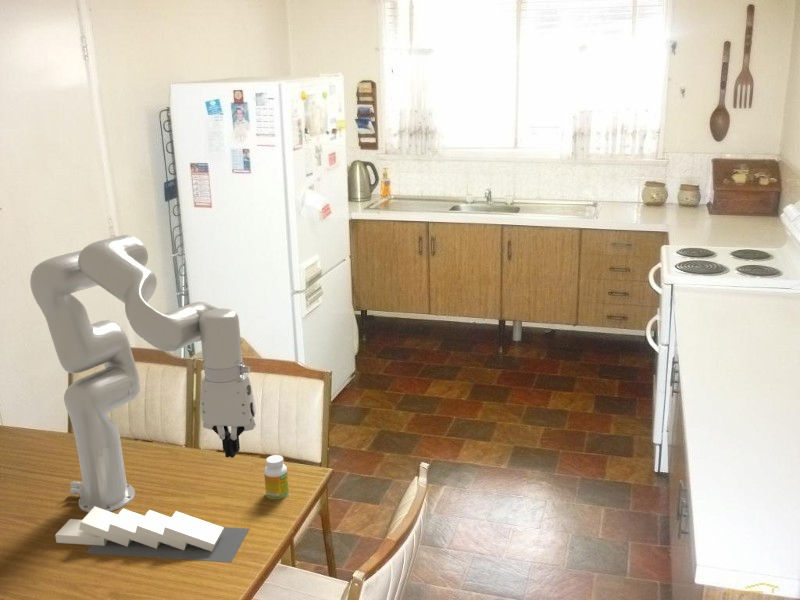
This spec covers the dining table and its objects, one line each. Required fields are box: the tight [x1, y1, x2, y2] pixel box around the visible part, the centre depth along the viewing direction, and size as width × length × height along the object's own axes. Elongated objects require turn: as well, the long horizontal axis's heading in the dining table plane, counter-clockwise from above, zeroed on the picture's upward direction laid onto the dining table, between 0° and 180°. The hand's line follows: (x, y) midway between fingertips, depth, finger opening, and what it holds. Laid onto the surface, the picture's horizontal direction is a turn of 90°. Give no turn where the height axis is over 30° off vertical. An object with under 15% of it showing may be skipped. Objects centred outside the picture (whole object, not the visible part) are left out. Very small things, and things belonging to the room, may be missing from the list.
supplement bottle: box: [263, 454, 290, 500], centre depth 181 cm, size 5×5×10 cm
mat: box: [85, 526, 250, 563], centre depth 164 cm, size 32×12×1 cm, turn 83°
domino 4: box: [135, 509, 188, 550], centre depth 163 cm, size 2×6×11 cm
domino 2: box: [79, 507, 132, 547], centre depth 165 cm, size 2×6×11 cm
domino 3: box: [108, 507, 161, 549], centre depth 164 cm, size 2×6×11 cm
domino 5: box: [163, 510, 224, 552], centre depth 163 cm, size 2×6×11 cm
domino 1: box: [54, 518, 109, 546], centre depth 166 cm, size 2×6×11 cm
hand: (232, 454), depth 156 cm, fingers closed
